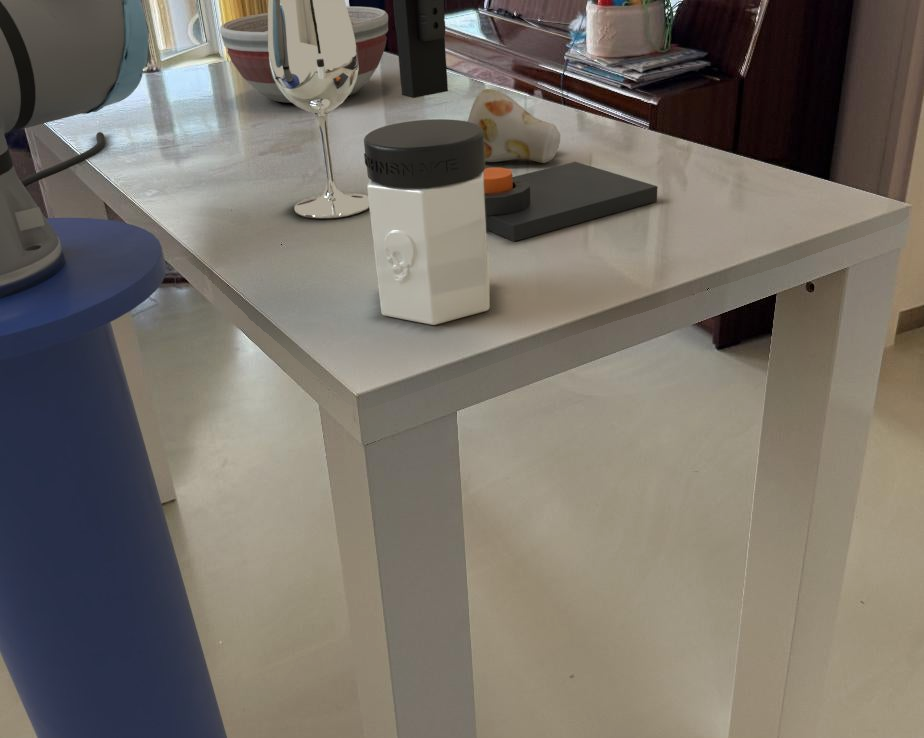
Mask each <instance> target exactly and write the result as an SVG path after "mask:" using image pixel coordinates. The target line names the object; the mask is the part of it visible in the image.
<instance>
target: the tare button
mask: <svg viewBox="0 0 924 738" xmlns="http://www.w3.org/2000/svg"><path fill="white" fill-rule="evenodd" d="M484 174H485V194H491V193H501V192H505V191H509V190H512V189H513V178H512V177H513V171H512V170H511V169H510V168H506V167H485V169H484Z"/></svg>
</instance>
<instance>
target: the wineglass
mask: <svg viewBox="0 0 924 738" xmlns="http://www.w3.org/2000/svg"><path fill="white" fill-rule="evenodd" d="M267 13H268V50H269V60H270V67H271V71H272V76H273V78H274V81H275V83H276V85H277V87H278V88H279V90H280V91H281V92H282V93H283V95H284V96H285V97H286V98H287V99H288V100H289V101H291V102H292V103H291V104H293V105H294V106H296V107H297V108H299V109H301V110H303V111H305V112H308V113H312V115H313V116H314V118H315V121H316V124H317V128H318V132H319V136H320V142H321V149H322V156H323V164H324V171H325V179H326V180H325V181H326V183H325V189H324V191H323V192H322V193H321V194H317V195H313V196H309V197H307V198H304V199H302V200H300V201H298V202H297V203H295V205H294V209H293V210H294V213H295V214H296V215H298V216H301V217H303V218H308V219H317V220H329V219H339V218H346V217H351V216H354V215H357V214H360V213H362V212H365V211H367V210H370V209H369V200H368V194H364V193H362V192H361V193H360V192H351V191H341V190H340V189H339V188H338V185H337V184H336V182H335V181H336V180H335V177H334V170H333V162H332V154H331V147H330V141H329V140H330V137H329V116H330V112H331V111H334V110H335V109H336V108H338V107H339V106H340V105H342V104H343V103H344V102H345V100H346V99H347V98H348V95H349V94H350V93H351V92H352V89H353V87H354V85H355V83H356V81H357V76H358V70H359V67H358V53H357V47H356V42H355V37H354V32H353V28H352V24H351V21H350V17H349V14H348V10H347V3H346V0H268V1H267ZM349 96H350V95H349Z"/></svg>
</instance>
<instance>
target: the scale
mask: <svg viewBox="0 0 924 738" xmlns="http://www.w3.org/2000/svg"><path fill="white" fill-rule="evenodd" d="M512 178H513V189H512V190H509V191H505V192H501V193H491V194H485V195H486V216H487V231H489V232H491V233H493V234H496V235H499V236H501V237H503V238H505V239H507V240H511V241H513V242H517V241H520V240H524V239H529V238H531V237H535V236H538V235H542V234H546V233H549V232H552V231H556V230H560V229H564V228H567V227H571V226H574V225H578V224H582V223H584V222H588V221H591V220H595V219H599V218H603V217H606V216H610V215H614V214H617V213H621V212H624V211H628V210H631V209H635V208H638V207H641V206H645V205H650V204H652V203H657V201H658V189H659V187H658V185H655V184H652V183H648V182H645V181H641V180H639V179H635V178H631V177H629V176H626V175H625V176H624V175H621V174H619V173H614V172H611V171H608V170H605V169H601V168H598V167H595V166H591V165H588V164H585V163H581V162H578V161H571V162H568V163H564V164H559V165H556V166H552V167H547V168H543V169H539V170H535V171H531V172H527V173H523V174H519V175H515V176H512Z"/></svg>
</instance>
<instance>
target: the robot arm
mask: <svg viewBox="0 0 924 738" xmlns="http://www.w3.org/2000/svg"><path fill="white" fill-rule="evenodd" d="M392 3H393V4H392V5H393V16H394V25H395V26H394V27H395V33H396V46H397V57H398V65H399V67H398V68H399V76H400V88H401V95H402V96H405V97H408V98H412V99H415V98H421V97H426V96H431V95H436V94H441V93H445V92H449V86H448V85H449V84H448V71H447V70H448V69H447V56H446V55H447V53H446V38H445V37H446V20H445V19H446V17H445V0H392ZM146 19H147V18H146V15H145V11H144V7H143V3H142V1H141V0H0V298H3V297H6V296H9V295H12V294H15V293H18V292H21V291H24V290H26V289H29V288H31V287H34V286H36V285H38V284H40V283H42V282H44V281H46V280H47V279H49V278H51V277H52V276H54V275H55V274H56V273H57V272H58V271H60V269H61V268H62V267H63V266H64V264H65V257H64V253H63V250H62V247H61V243H60V240H59V237H58V236H57V235H56V233H55V231H54V230H53V228H52V227H51V225H50V224H49V222H48V221H47V219H46V218H47V217H46V216H45V215H44V213H43V212H42V211H41V207H40V206H38V204H37V203H36V202H35V200H34V199H33V197H32V196H31V194H30V192H29V191H28V190H27V186H30V185H32V184H34V183H36V182H38V181H41V180H43V179H45V178H49V177H51V176H53V175H55V174H58V173H60V172H63V171H65V170H67V169H69V168H72V167H74V166H76V165H78V164H80V163H82V162H84V161H86V160H88V159H91V158H92V157H94V156H96V155H98V154H99V153H100V152H101V151H103V149H104V148H105V147H106V139H105V133H103V132H101V131H98V132H97V133H96V135H95V136H96V137H95V138H96V143H95V144H94V146H92V147H91V148H89V149H87V150H86V151H84V152H81V153H79V154H78V155H75V156H73V157H71V158H68V159H66V160H64V161H62V162H60V163H58V164H55V165H53V166H50V167H48V168H45V169H43V170H40V171H38V172H35V173H33V174H30V175H28V176H26V177H23V178H22V179H20V178H19V176H18V174H17V172H16V169H15V166H14V162H13V159H12V156H11V153H10V150H9V147H8V143H7V139H6V135H5V134H8V133H11V132H16V131H20V130H25V129H28V128H31V127H35V126H39V125H43V124H47V123H50V122H54V121H58V120H62V119H66V118H70V117H74V116H77V115H78V116H79V115H82V114H83V115H86V114H90V113H96V112H99V111H100V110H102V109H104V107H107V106H111V105H113V104H117V103H120V102H123V100H125V99H127V98H129V96H131V95H132V94H133V93H134V92H135V90H137V88H138V87H139V85H140V83H141V81H142V78H143V75H144V69H145V68H146V67H147V63H148V55H149V31H148V24H147V20H146Z"/></svg>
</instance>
